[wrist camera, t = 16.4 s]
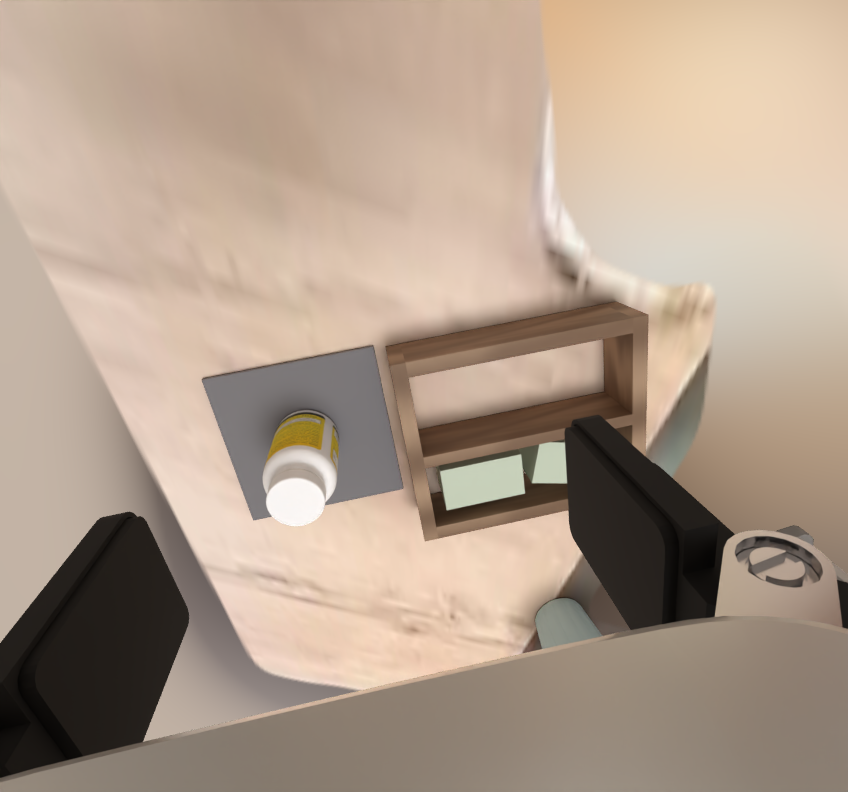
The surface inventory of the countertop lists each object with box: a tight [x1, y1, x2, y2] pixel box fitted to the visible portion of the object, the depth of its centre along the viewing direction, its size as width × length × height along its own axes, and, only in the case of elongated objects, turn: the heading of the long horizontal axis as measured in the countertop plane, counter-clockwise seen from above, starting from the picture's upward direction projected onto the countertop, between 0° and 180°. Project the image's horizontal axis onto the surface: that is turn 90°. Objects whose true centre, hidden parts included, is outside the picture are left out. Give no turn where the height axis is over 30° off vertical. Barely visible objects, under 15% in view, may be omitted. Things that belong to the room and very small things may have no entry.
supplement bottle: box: [263, 410, 339, 526], centre depth 38 cm, size 5×5×10 cm
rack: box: [386, 302, 648, 541], centre depth 42 cm, size 16×20×5 cm
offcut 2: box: [518, 439, 567, 483], centre depth 45 cm, size 4×7×4 cm, turn 85°
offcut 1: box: [436, 449, 525, 510], centre depth 44 cm, size 4×7×4 cm, turn 99°
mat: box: [202, 346, 403, 520], centre depth 43 cm, size 14×14×1 cm
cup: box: [535, 598, 602, 649], centre depth 50 cm, size 8×8×10 cm
